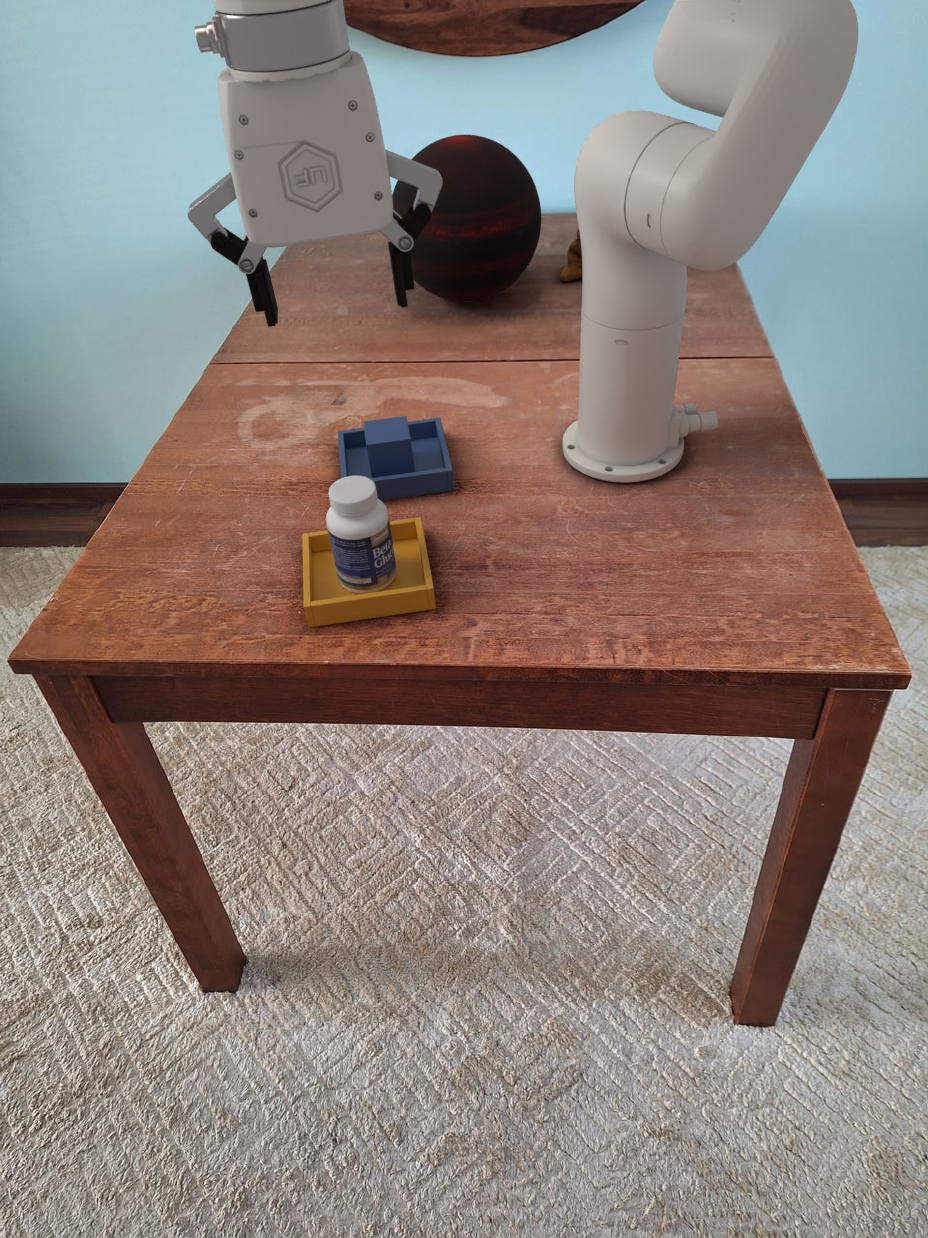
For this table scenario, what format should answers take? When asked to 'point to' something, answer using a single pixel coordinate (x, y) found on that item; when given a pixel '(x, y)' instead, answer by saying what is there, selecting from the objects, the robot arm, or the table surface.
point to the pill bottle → (360, 536)
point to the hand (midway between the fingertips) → (337, 308)
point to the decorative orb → (473, 219)
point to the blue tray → (427, 457)
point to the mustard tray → (340, 605)
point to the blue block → (389, 446)
